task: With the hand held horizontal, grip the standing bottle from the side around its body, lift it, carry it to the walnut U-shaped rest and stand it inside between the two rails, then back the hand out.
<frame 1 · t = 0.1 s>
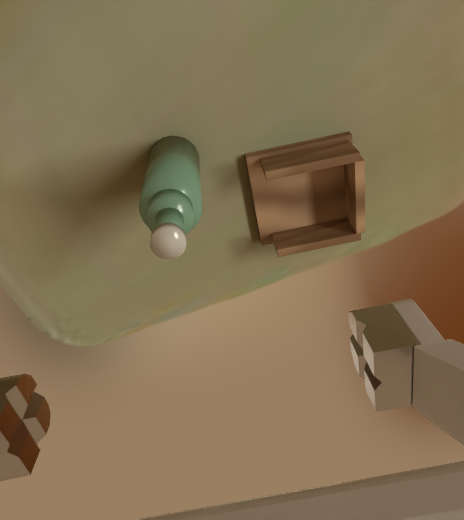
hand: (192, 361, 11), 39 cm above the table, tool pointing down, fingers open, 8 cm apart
u rest: (301, 190, 51), on the table
bottle: (174, 160, 48), on the table
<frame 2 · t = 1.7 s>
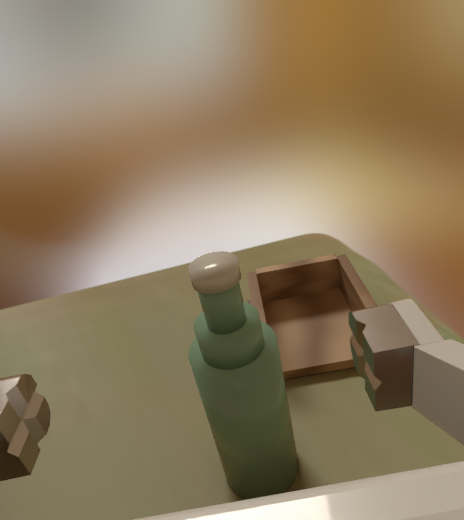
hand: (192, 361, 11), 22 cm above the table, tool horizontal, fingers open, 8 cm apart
u rest: (311, 330, 44), on the table
bottle: (261, 464, 32), on the table
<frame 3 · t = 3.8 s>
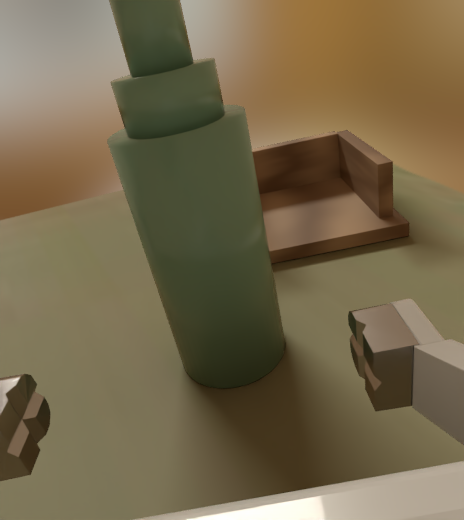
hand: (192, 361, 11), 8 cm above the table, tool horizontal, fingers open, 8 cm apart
u rest: (305, 219, 35), on the table
bottle: (233, 348, 23), on the table
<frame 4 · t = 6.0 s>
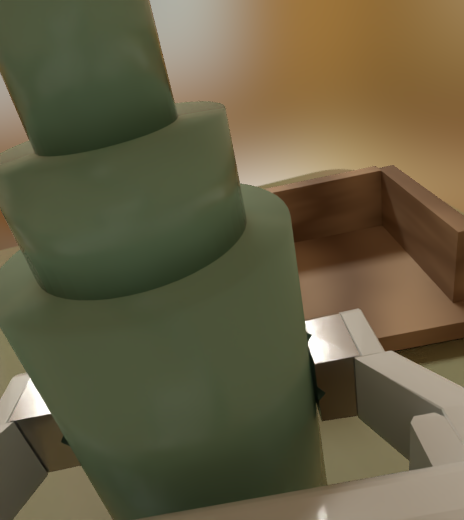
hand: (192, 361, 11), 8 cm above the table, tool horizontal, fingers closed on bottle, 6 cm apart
u rest: (339, 288, 26), on the table
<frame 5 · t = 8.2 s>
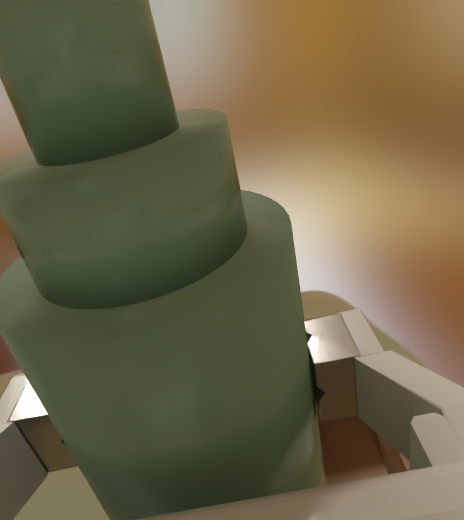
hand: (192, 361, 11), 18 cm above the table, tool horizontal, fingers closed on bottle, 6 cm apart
u rest: (315, 507, 24), on the table
when the fingers open (10 cm above the table, at t = 10.6 s): bottle stays where it is, resting on u rest.
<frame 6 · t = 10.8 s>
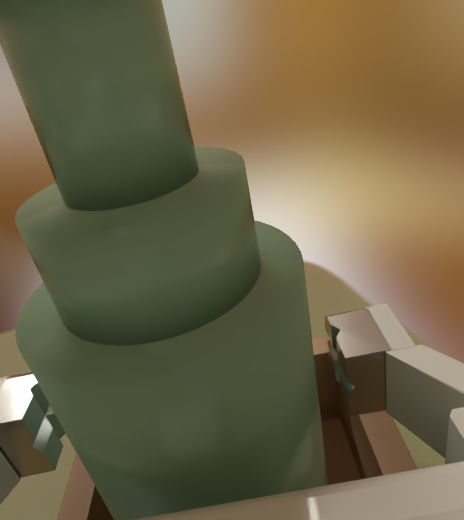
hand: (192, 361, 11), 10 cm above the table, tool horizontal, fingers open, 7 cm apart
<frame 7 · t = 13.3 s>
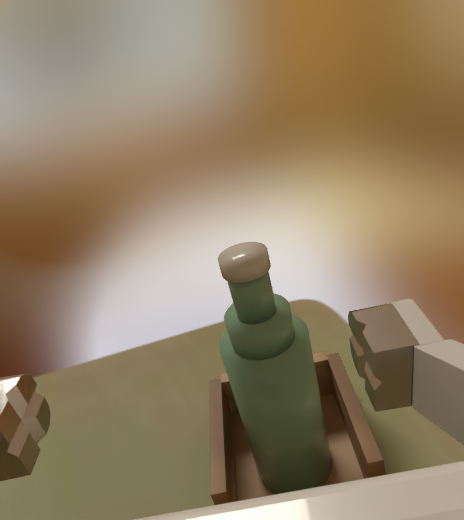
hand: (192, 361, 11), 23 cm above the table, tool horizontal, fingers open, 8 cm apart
u rest: (295, 463, 33), on the table
bottle: (293, 461, 32), point 1 cm above the table, touching u rest
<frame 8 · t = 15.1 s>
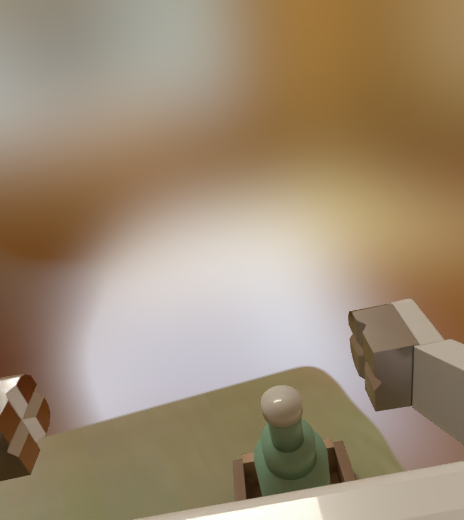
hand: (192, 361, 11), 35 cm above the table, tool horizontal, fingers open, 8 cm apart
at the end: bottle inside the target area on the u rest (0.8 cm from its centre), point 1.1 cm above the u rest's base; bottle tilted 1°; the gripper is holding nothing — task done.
